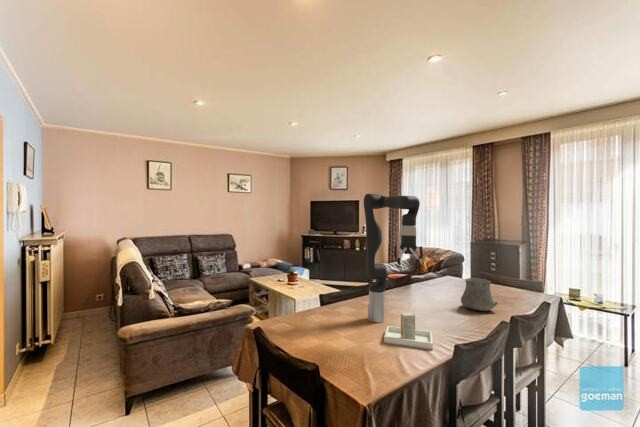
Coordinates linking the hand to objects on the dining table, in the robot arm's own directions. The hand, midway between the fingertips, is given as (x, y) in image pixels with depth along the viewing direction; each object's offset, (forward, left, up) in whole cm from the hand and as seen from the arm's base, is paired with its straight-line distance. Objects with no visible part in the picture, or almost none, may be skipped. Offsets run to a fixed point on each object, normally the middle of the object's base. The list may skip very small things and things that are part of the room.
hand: (407, 265), depth 157 cm
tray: (+1, -6, -36) cm, 36 cm away
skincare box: (+1, -6, -35) cm, 36 cm away
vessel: (+44, +66, -36) cm, 87 cm away
